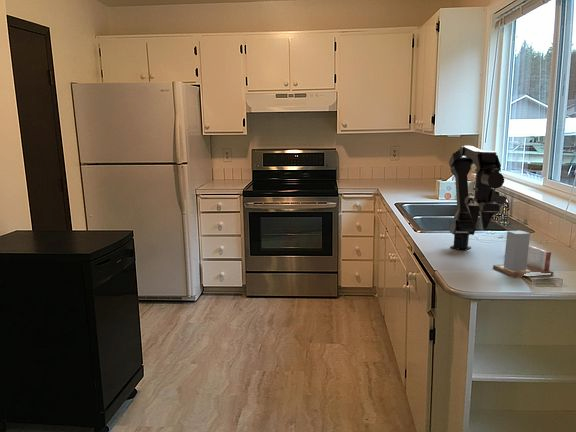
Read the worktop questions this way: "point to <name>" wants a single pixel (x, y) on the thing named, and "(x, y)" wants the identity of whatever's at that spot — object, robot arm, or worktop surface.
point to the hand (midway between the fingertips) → (479, 226)
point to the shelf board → (530, 263)
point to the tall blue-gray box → (516, 250)
